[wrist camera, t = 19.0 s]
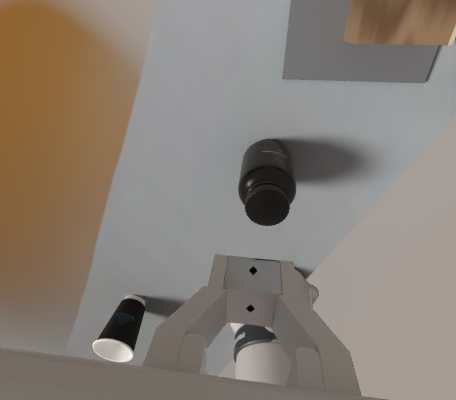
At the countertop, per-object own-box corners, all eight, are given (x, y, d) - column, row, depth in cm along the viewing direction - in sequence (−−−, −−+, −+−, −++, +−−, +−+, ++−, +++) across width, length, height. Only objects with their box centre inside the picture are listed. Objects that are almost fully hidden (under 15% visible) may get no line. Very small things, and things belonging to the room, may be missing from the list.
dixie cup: (130, 314, 64) (108, 364, 54) (110, 293, 60) (83, 342, 51) (158, 309, 61) (141, 360, 52) (139, 287, 57) (117, 337, 48)
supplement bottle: (282, 130, 36) (291, 172, 26) (296, 173, 39) (308, 225, 29) (234, 147, 38) (226, 192, 28) (251, 187, 41) (249, 239, 31)
